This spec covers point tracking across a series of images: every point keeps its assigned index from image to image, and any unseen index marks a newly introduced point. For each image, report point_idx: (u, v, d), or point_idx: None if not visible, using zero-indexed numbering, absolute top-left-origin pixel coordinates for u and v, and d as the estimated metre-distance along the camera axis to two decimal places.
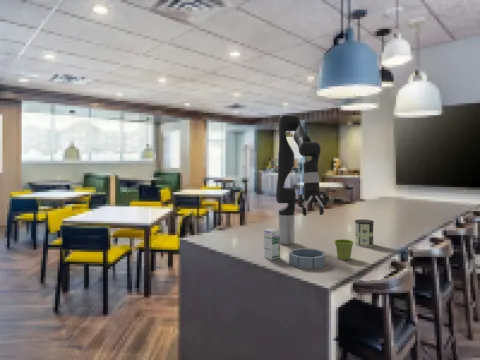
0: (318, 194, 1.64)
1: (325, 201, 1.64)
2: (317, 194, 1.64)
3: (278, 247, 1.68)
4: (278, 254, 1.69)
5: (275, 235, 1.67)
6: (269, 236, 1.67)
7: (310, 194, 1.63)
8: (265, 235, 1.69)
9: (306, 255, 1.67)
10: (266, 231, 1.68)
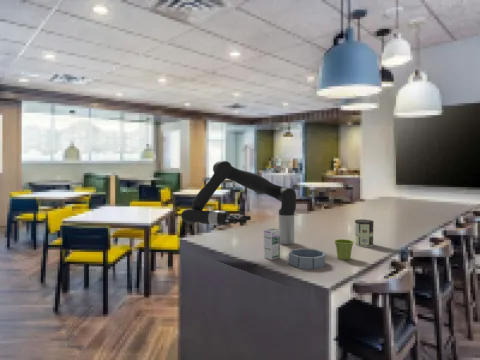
0: None
1: None
2: None
3: (278, 247, 1.68)
4: (278, 254, 1.69)
5: (275, 235, 1.67)
6: (269, 236, 1.67)
7: None
8: (265, 235, 1.69)
9: (306, 255, 1.67)
10: (266, 231, 1.68)
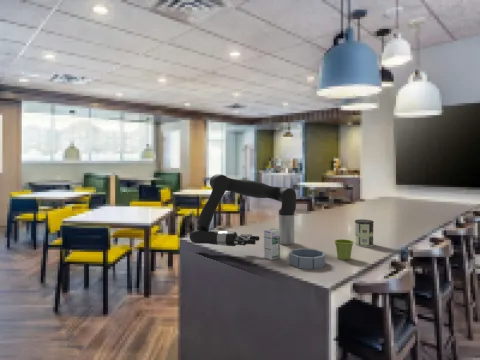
0: None
1: None
2: None
3: (278, 247, 1.68)
4: (278, 254, 1.69)
5: (275, 235, 1.67)
6: (269, 236, 1.67)
7: None
8: (265, 235, 1.69)
9: (306, 255, 1.67)
10: (266, 231, 1.68)
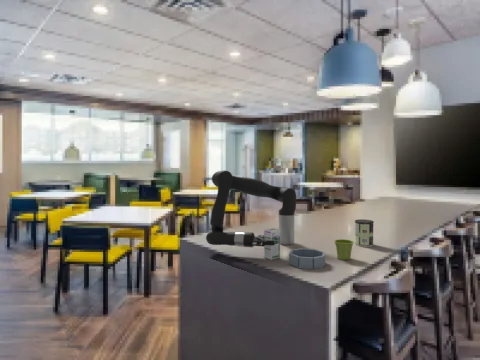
0: None
1: None
2: None
3: (278, 247, 1.68)
4: (278, 254, 1.68)
5: (275, 235, 1.67)
6: (269, 236, 1.67)
7: None
8: (265, 235, 1.69)
9: (306, 255, 1.67)
10: (267, 231, 1.68)
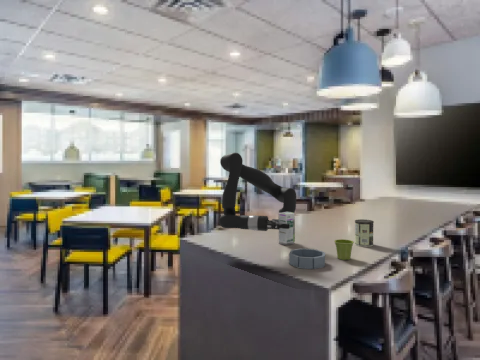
0: None
1: None
2: None
3: (293, 231, 1.63)
4: (293, 238, 1.64)
5: (290, 218, 1.62)
6: (284, 219, 1.62)
7: None
8: (280, 218, 1.64)
9: (306, 255, 1.67)
10: (281, 214, 1.63)
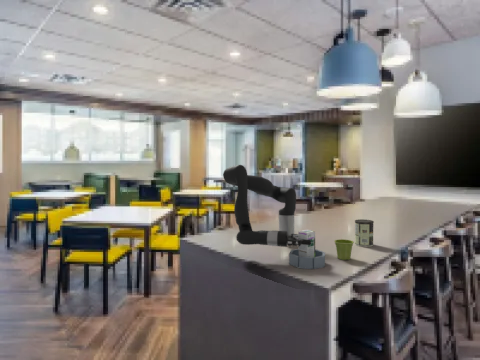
0: None
1: None
2: None
3: (314, 249, 1.59)
4: None
5: (311, 236, 1.57)
6: (305, 238, 1.57)
7: None
8: (300, 236, 1.59)
9: None
10: (302, 233, 1.58)
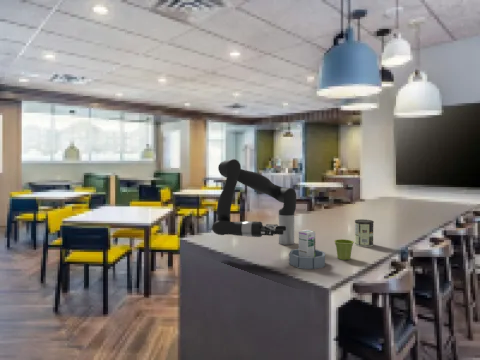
0: None
1: None
2: None
3: (314, 250, 1.59)
4: None
5: (311, 236, 1.57)
6: (305, 238, 1.57)
7: None
8: (300, 236, 1.59)
9: None
10: (302, 233, 1.58)
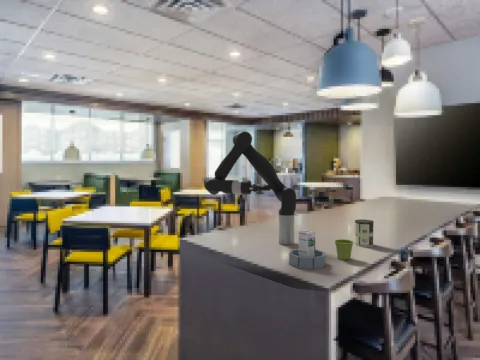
0: None
1: (256, 190, 1.70)
2: None
3: (314, 250, 1.59)
4: None
5: (311, 236, 1.57)
6: (305, 238, 1.57)
7: None
8: (300, 236, 1.59)
9: None
10: (302, 233, 1.58)
